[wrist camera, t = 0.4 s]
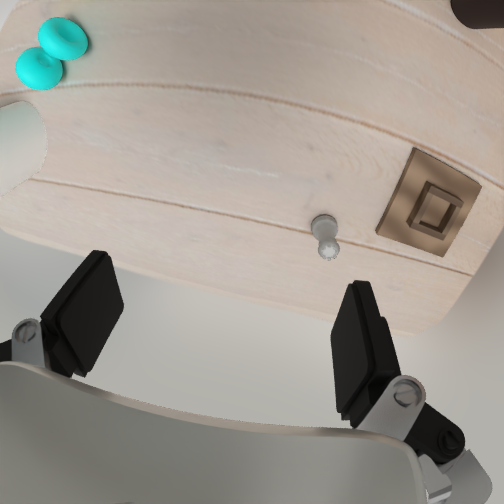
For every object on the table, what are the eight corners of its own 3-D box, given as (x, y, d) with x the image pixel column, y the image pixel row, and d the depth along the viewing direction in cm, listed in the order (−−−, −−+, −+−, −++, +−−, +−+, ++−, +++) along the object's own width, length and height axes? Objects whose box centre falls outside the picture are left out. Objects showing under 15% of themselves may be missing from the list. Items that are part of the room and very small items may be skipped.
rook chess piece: (305, 224, 48) (308, 251, 41) (326, 208, 46) (333, 234, 39) (321, 241, 49) (325, 270, 43) (342, 227, 47) (350, 255, 41)
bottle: (476, -3, 19) (555, -12, 3) (485, 32, 23) (569, 38, 6) (445, -11, 20) (523, -32, 4) (455, 26, 24) (541, 22, 8)
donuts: (43, 54, 32) (5, 60, 24) (76, 15, 28) (37, 13, 20) (64, 88, 36) (25, 99, 28) (99, 50, 33) (60, 51, 24)
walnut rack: (413, 147, 38) (421, 153, 35) (478, 183, 38) (488, 191, 36) (375, 230, 47) (379, 240, 44) (440, 253, 48) (446, 263, 45)
